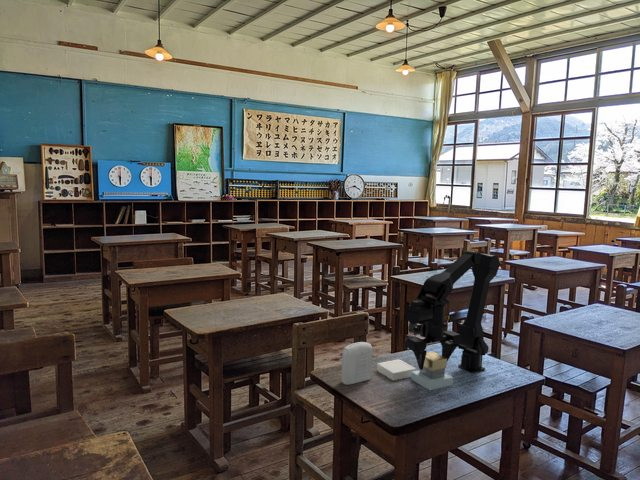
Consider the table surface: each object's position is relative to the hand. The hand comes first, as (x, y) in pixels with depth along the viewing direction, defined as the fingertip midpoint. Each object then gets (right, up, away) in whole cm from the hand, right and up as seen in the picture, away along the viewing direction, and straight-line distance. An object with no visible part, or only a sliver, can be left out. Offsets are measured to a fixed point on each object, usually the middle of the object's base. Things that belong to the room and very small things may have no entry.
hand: (432, 366), depth 152 cm
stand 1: (-10, -4, +7) cm, 13 cm away
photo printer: (-24, -5, +1) cm, 24 cm away
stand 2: (0, -5, +1) cm, 5 cm away
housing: (0, -3, 0) cm, 2 cm away
